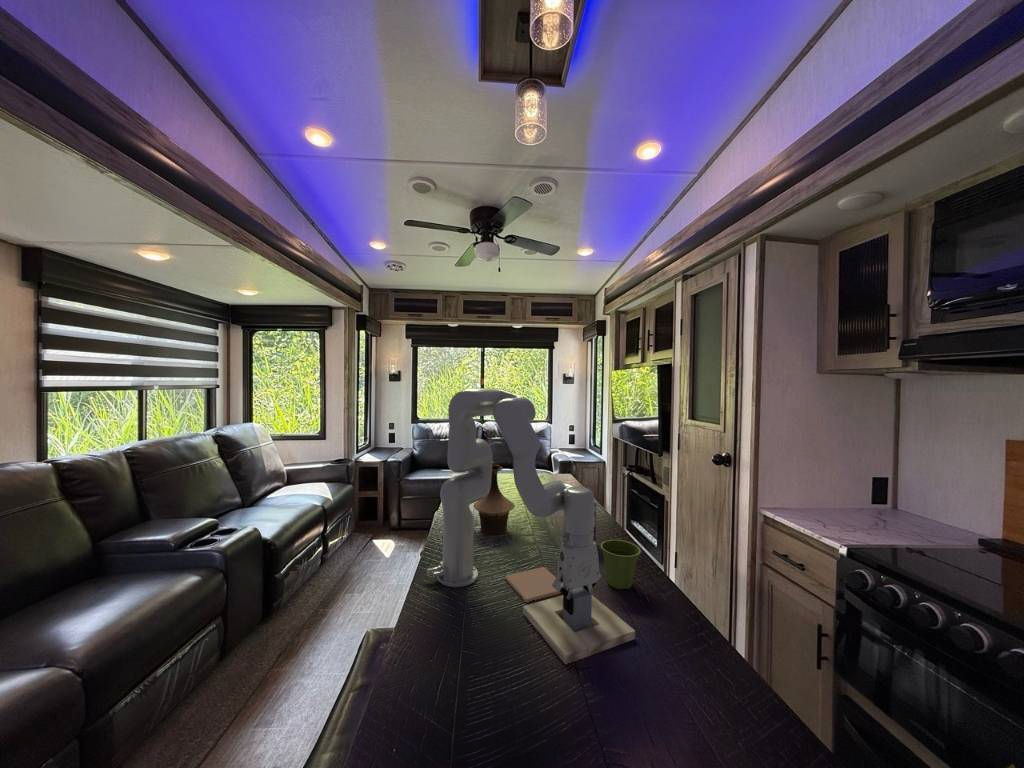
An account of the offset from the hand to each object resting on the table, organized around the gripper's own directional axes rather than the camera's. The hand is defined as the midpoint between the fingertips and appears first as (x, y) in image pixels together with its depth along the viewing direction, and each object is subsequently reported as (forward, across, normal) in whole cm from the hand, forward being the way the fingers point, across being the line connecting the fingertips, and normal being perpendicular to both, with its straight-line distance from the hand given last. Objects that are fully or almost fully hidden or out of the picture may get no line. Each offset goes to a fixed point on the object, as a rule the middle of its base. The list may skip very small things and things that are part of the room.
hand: (576, 608), depth 96 cm
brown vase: (+5, +5, +65) cm, 65 cm away
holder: (+4, 0, 0) cm, 4 cm away
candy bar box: (+5, +30, +40) cm, 50 cm away
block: (+4, 0, 0) cm, 4 cm away
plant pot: (+5, +24, +11) cm, 27 cm away
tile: (+4, 0, +21) cm, 22 cm away
